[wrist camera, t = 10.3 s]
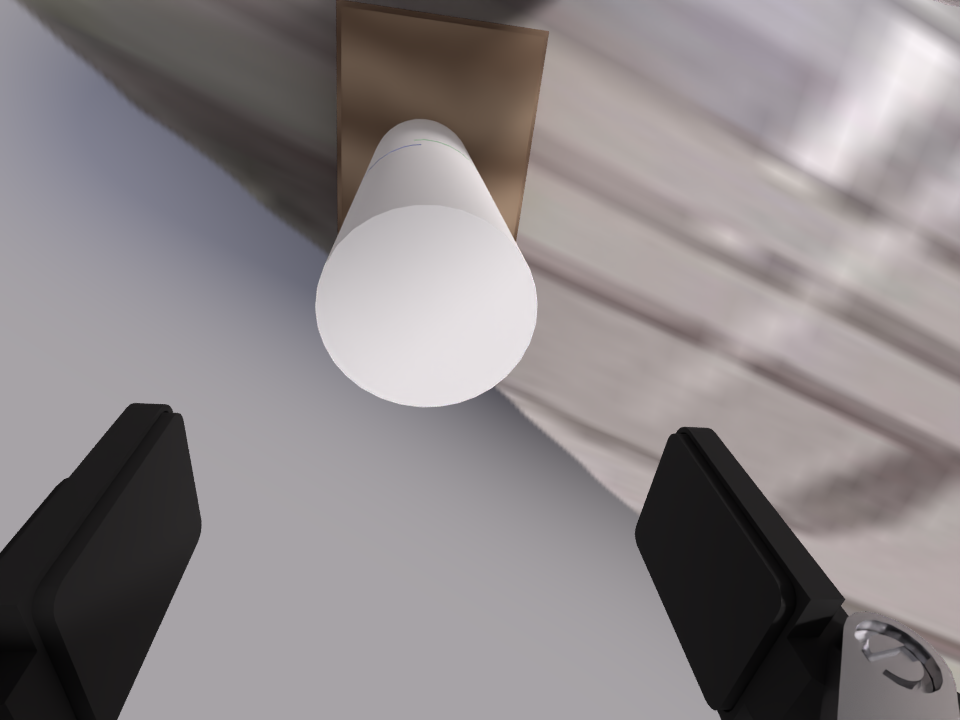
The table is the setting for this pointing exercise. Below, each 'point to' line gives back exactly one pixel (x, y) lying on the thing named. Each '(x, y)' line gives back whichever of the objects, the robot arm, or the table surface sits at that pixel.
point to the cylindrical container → (425, 277)
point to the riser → (437, 92)
